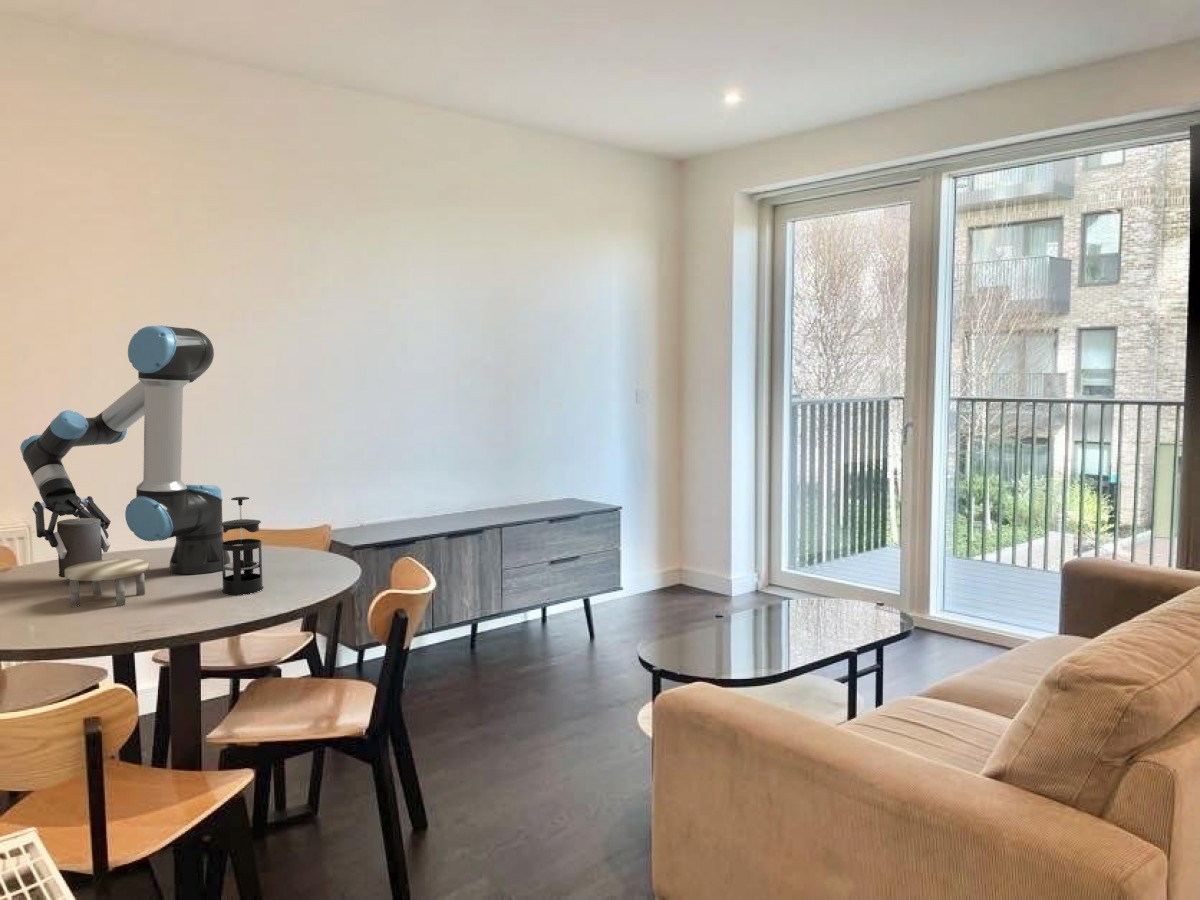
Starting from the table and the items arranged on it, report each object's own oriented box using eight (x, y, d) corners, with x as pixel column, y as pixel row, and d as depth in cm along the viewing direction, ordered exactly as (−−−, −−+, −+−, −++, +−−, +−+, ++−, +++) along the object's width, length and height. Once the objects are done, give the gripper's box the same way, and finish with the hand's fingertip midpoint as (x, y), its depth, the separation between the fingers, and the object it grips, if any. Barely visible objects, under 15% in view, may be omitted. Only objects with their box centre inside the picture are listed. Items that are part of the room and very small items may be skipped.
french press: (257, 595, 207) (254, 499, 206) (215, 596, 206) (212, 500, 205) (269, 584, 219) (267, 493, 217) (230, 585, 218) (227, 494, 216)
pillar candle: (50, 578, 217) (47, 518, 215) (73, 569, 226) (71, 512, 225) (89, 578, 217) (86, 518, 216) (111, 569, 226) (108, 512, 225)
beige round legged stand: (162, 590, 212) (160, 558, 211) (129, 608, 195) (127, 573, 194) (89, 591, 211) (88, 559, 210) (50, 610, 194) (48, 574, 193)
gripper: (95, 490, 238) (126, 554, 230) (2, 500, 220) (33, 569, 212) (103, 472, 234) (135, 536, 226) (10, 480, 217) (41, 549, 209)
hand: (85, 552), depth 219 cm, fingers closed on pillar candle, 9 cm apart
